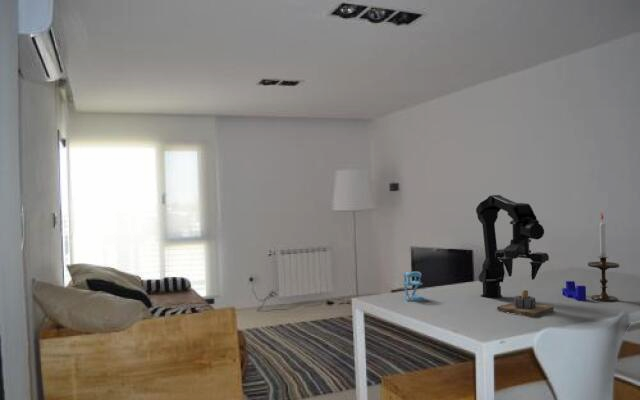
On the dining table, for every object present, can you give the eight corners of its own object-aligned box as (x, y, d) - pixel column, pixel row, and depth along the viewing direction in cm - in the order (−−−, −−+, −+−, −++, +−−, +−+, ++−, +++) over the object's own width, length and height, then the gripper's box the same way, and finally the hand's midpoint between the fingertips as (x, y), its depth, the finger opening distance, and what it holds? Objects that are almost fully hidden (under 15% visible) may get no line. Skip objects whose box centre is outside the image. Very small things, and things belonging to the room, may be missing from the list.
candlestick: (590, 295, 200) (588, 212, 200) (620, 298, 193) (618, 211, 193) (587, 300, 191) (584, 213, 191) (619, 303, 185) (616, 212, 185)
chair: (418, 296, 208) (417, 268, 208) (425, 300, 199) (424, 271, 199) (400, 297, 206) (400, 269, 206) (407, 301, 198) (406, 272, 198)
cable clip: (562, 295, 203) (562, 281, 203) (573, 295, 203) (573, 281, 203) (574, 301, 191) (573, 286, 191) (586, 301, 191) (585, 286, 191)
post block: (497, 310, 178) (496, 290, 178) (517, 305, 186) (517, 285, 186) (533, 317, 167) (532, 296, 167) (553, 311, 175) (552, 290, 175)
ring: (511, 306, 177) (511, 297, 177) (521, 304, 181) (520, 294, 181) (528, 309, 172) (528, 300, 172) (538, 306, 176) (538, 297, 176)
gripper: (486, 236, 183) (487, 277, 183) (533, 240, 168) (533, 284, 168) (503, 234, 190) (503, 273, 190) (549, 237, 175) (549, 280, 175)
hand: (521, 278), depth 181 cm, fingers open, 9 cm apart
